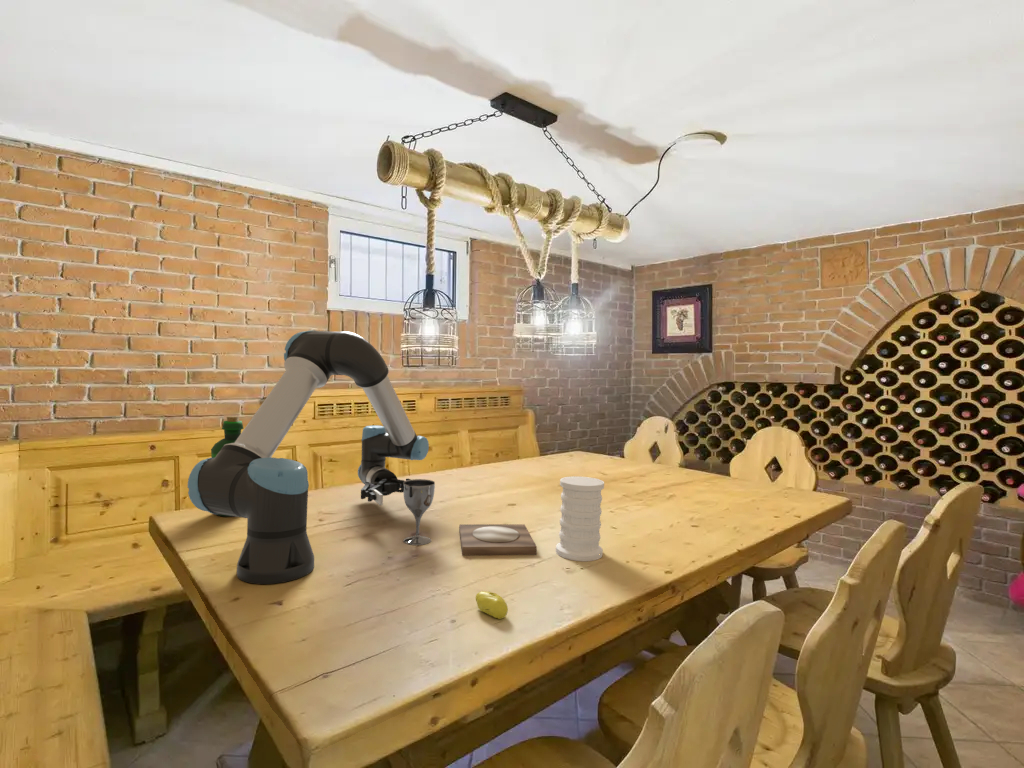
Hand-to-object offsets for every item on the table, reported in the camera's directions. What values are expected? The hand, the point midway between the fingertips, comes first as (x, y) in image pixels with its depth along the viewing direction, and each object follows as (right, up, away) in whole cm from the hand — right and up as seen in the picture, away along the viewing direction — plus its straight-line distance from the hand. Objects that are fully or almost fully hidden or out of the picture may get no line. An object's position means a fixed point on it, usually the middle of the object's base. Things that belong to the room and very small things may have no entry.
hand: (406, 497), depth 145 cm
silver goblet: (+5, -10, -8) cm, 13 cm away
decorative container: (+46, -11, -13) cm, 49 cm away
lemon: (+25, -12, -47) cm, 54 cm away
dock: (+25, -10, -7) cm, 28 cm away
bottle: (-52, -7, +9) cm, 54 cm away
